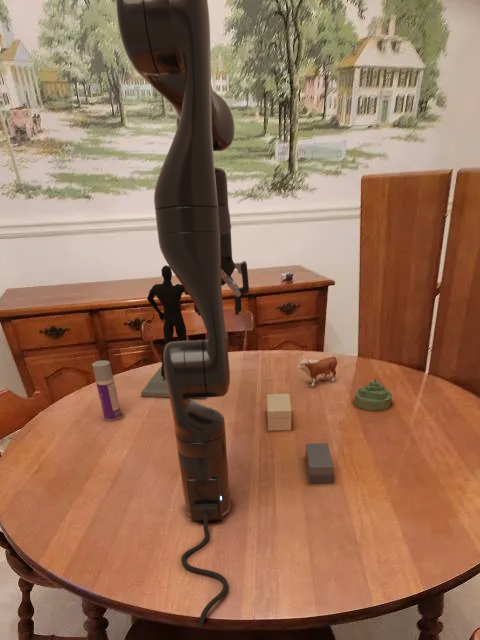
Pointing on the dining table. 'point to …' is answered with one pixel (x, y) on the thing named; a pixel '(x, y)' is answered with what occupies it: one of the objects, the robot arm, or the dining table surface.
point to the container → (107, 390)
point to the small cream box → (279, 423)
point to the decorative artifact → (373, 397)
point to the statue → (166, 326)
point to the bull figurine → (319, 368)
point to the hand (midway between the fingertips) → (218, 314)
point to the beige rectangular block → (278, 405)
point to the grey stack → (319, 463)
